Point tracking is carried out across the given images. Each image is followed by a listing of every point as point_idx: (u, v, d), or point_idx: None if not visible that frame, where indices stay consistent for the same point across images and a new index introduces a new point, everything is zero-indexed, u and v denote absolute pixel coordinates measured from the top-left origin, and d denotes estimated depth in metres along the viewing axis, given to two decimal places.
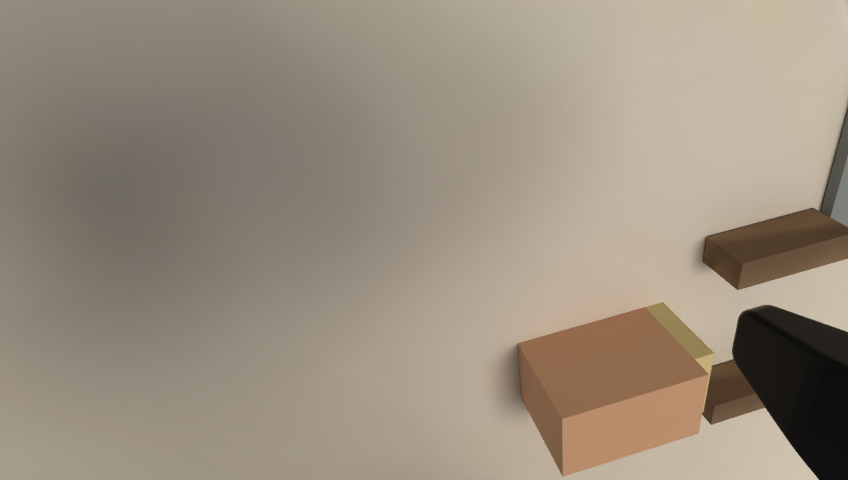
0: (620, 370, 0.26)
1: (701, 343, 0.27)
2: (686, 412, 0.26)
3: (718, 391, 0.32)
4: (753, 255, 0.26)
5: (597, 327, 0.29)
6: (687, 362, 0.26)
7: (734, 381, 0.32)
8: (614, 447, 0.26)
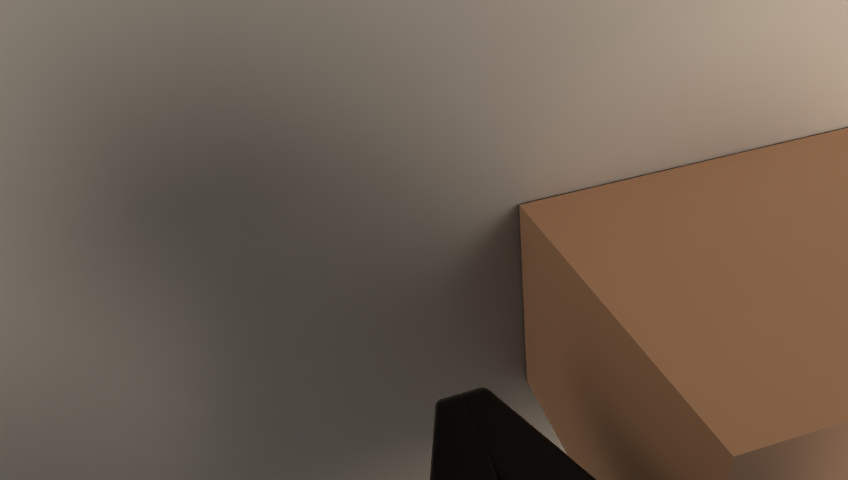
0: None
1: None
2: None
3: None
4: None
5: (762, 162, 0.09)
6: None
7: None
8: None
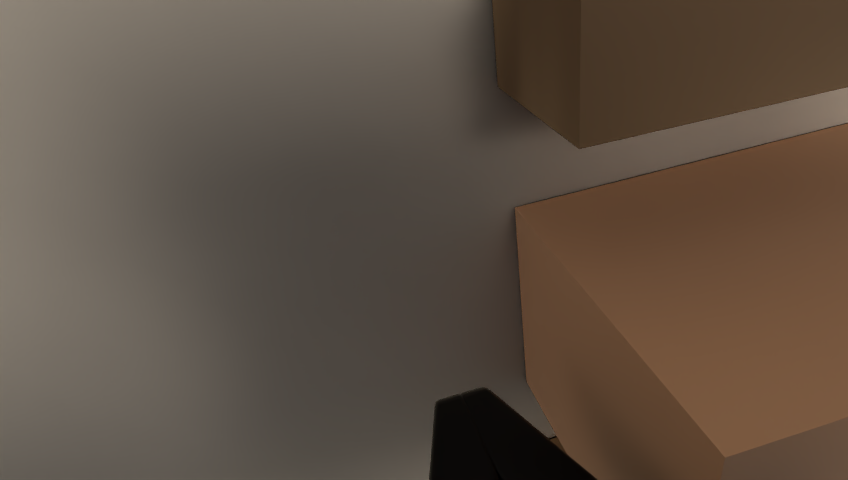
0: None
1: None
2: None
3: None
4: None
5: (757, 161, 0.09)
6: None
7: None
8: None
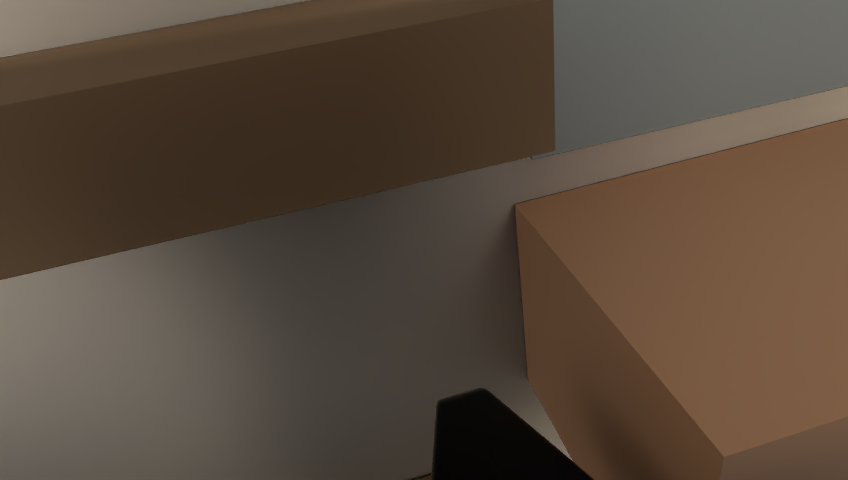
0: None
1: None
2: None
3: None
4: None
5: (760, 156, 0.09)
6: None
7: None
8: None
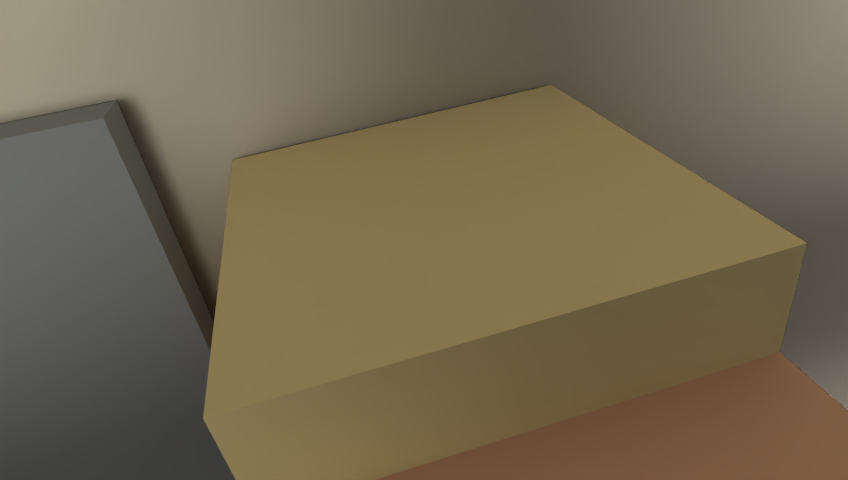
0: None
1: None
2: None
3: None
4: None
5: None
6: None
7: None
8: None
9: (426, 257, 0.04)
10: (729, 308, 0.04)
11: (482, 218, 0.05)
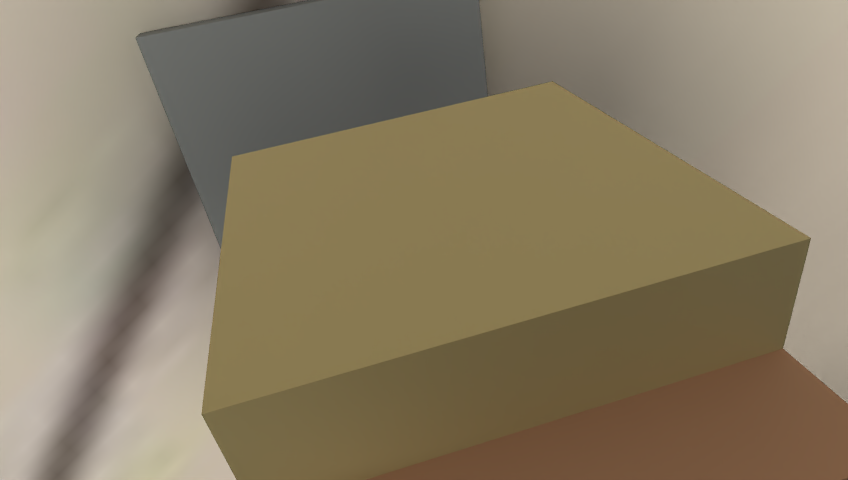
0: None
1: None
2: None
3: None
4: None
5: None
6: None
7: None
8: None
9: (427, 252, 0.04)
10: (733, 303, 0.04)
11: (483, 214, 0.05)
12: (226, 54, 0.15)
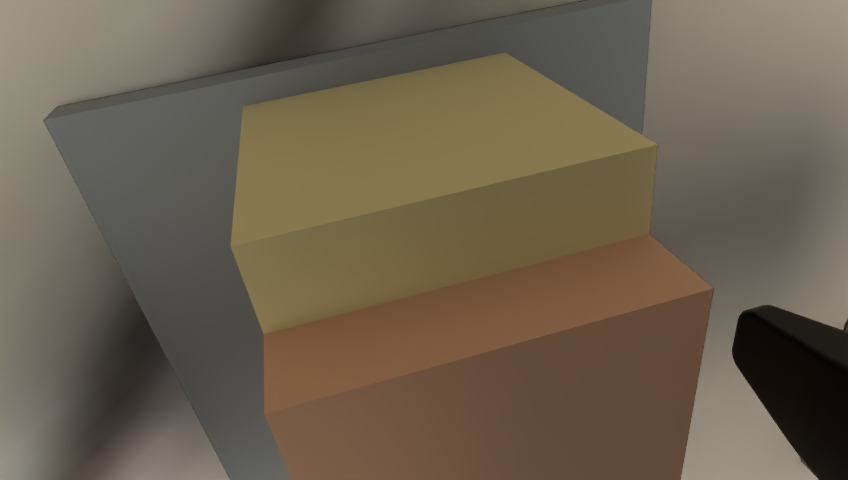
0: None
1: None
2: (522, 413, 0.05)
3: None
4: None
5: None
6: None
7: None
8: None
9: (391, 159, 0.06)
10: (605, 192, 0.06)
11: (435, 137, 0.06)
12: (215, 144, 0.08)
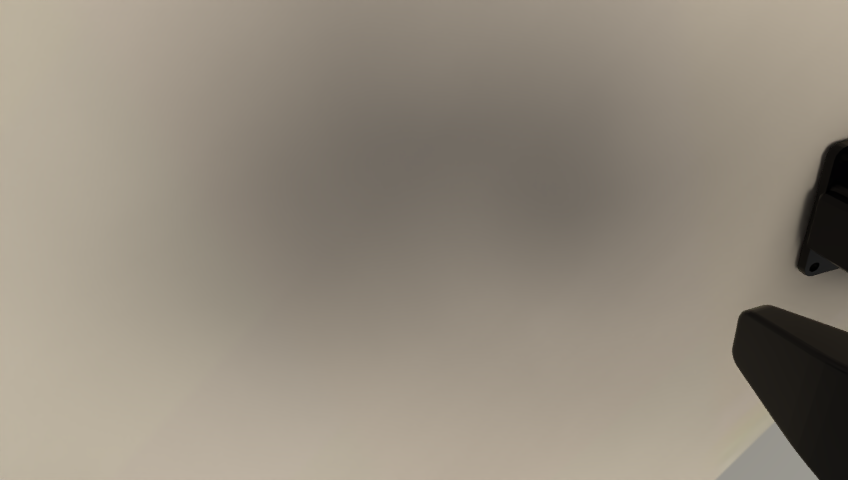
0: None
1: None
2: None
3: None
4: None
5: None
6: None
7: None
8: None
9: None
10: None
11: None
12: None
